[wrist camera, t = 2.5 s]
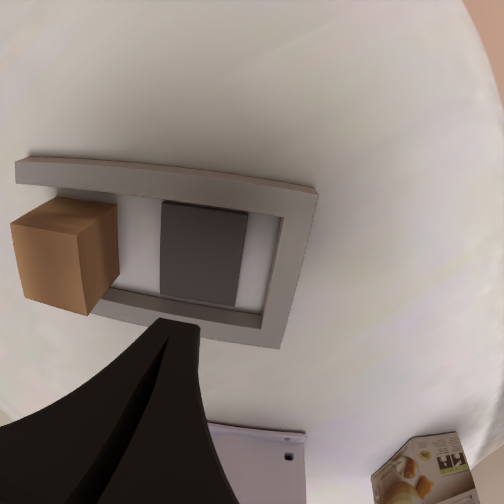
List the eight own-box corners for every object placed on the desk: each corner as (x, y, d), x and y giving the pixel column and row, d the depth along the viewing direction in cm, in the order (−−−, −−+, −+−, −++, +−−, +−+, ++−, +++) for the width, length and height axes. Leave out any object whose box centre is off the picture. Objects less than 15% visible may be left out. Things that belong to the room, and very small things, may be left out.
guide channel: (314, 187, 14) (318, 194, 13) (279, 335, 17) (279, 349, 16) (28, 156, 13) (14, 161, 12) (43, 286, 17) (33, 296, 16)
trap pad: (248, 213, 14) (247, 215, 14) (234, 303, 17) (234, 306, 16) (163, 201, 14) (162, 202, 14) (161, 290, 17) (159, 293, 16)
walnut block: (117, 203, 15) (76, 235, 11) (120, 273, 16) (87, 315, 13) (56, 196, 15) (10, 223, 11) (62, 261, 16) (25, 297, 13)
